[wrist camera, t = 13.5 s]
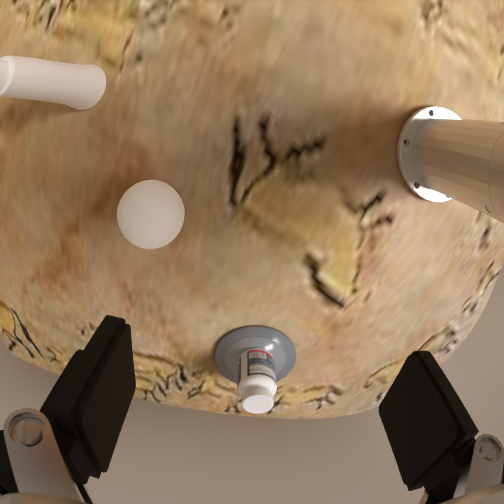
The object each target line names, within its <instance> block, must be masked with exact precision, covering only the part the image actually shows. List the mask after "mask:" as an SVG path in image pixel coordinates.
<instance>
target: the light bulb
mask: <svg viewBox="0 0 504 504" xmlns="http://www.w3.org/2000/svg"><path fill="white" fill-rule="evenodd" d="M184 215H185V211H184V205H183V202H182V200H181V198H180V196H179V193H178V192H177V191H176V190H175V189H174V188H172V187H171V186H170V185H168V184H166V183H164V182H162V181H158V180H146V181H141V182H138V183H136V184H134V185H133V186H131V187H130V188H129V189H128V190H127V191H126V192H125V193H124V194H123V196H122V198H121V199H120V202H119V205H118V208H117V221H118V226H119V228H120V230H121V232H122V234H123V236H124V237H125V238H126V239H127V240H128V241H129V242H130V243H132V244H133V245H135V246H137V247H140V248H144V249H156V248H160V247H163V246H165V245H167V244H169V243H170V242H171V241H172V240H173V239H174V238H176V236H177V235H178V234H179V232H180V230H181V228H182V226H183V222H184Z"/></svg>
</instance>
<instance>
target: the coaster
mask: <svg viewBox="0 0 504 504" xmlns="http://www.w3.org/2000/svg"><path fill="white" fill-rule="evenodd" d="M251 348H262V349H265V350H267V351H268V352H270V353H271V355H272V356H273V359H274V367H275V376H276V382H277V381H279V380H281V379H282V378H284V377H285V376H286V375H287V374H288V373H289V372H290V371H291V370H292V368H293V366H294V364H295V359H296V354H295V349H294V345H293V343H292V342H291V340H290V339H289V338H288V337H287V336H286V335H285V334H283V333H282V332H280V331H279V330H276V329H274V328H271V327H267V326H259V325H252V326H245V327H241V328H238V329H235V330H233V331H231V332H229V333H228V334H226V335H225V336H224V337H223V338H222V339H221V340H220V342H219V343H218V345H217V348H216V352H215V362H216V365H217V368H218V369H219V371H220V372H221V373H222V374H223V375H224V376H225V377H226V378H227V379H229V380H231V381H233V382H235V383H237V375H238V358H239V356H240V355H241V354H242V353H243V352H244V351H246V350H248V349H251Z"/></svg>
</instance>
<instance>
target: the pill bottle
mask: <svg viewBox="0 0 504 504" xmlns="http://www.w3.org/2000/svg"><path fill="white" fill-rule="evenodd" d="M237 389H238V393H239V395H240V396H241V397H242V406H243V408H244V409H245V410H246V411H248V412H250V413H256V414H258V413H264V412H267V411H269V410H270V409H271V408H272V407H273V396H274V394H275V393H276V389H277V385H276V376H275V367H274V359H273V356H272V355H271V353H270V352H268V351H267V350H265V349H262V348H251V349H248V350H246V351H244V352H243V353H242V354H241V355H240V356H239V358H238V375H237Z"/></svg>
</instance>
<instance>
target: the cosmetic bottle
mask: <svg viewBox="0 0 504 504" xmlns="http://www.w3.org/2000/svg"><path fill="white" fill-rule="evenodd" d="M105 89H106V76H105V73H104V72H103V70H102V69H101V68H100V67H98V66H96V65H93V64H87V65H82V64H71V63H63V62H57V61H50V60H44V59H37V58H29V57H20V56H4V57H2V58H0V97H6V98H17V99H28V100H38V101H46V102H53V103H58V104H63V105H67V106H70V107H72V108H75V109H77V110H86V109H89V108H91V107H93V106H94V105H96V104H97V103H98V102H99V101H100V99H101V98H102V96H103V94H104V92H105Z"/></svg>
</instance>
